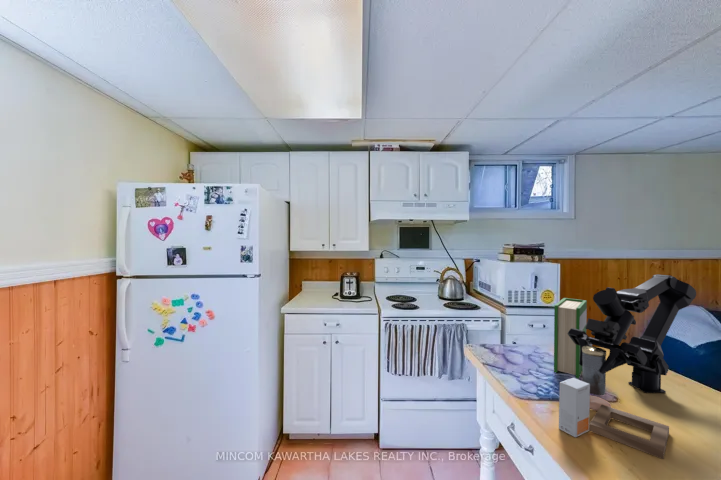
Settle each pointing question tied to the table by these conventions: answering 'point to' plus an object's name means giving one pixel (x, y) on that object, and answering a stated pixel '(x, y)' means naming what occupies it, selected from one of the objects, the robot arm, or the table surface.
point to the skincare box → (574, 406)
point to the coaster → (597, 403)
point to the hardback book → (565, 349)
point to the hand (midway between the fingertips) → (590, 368)
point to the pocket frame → (651, 446)
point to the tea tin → (594, 369)
